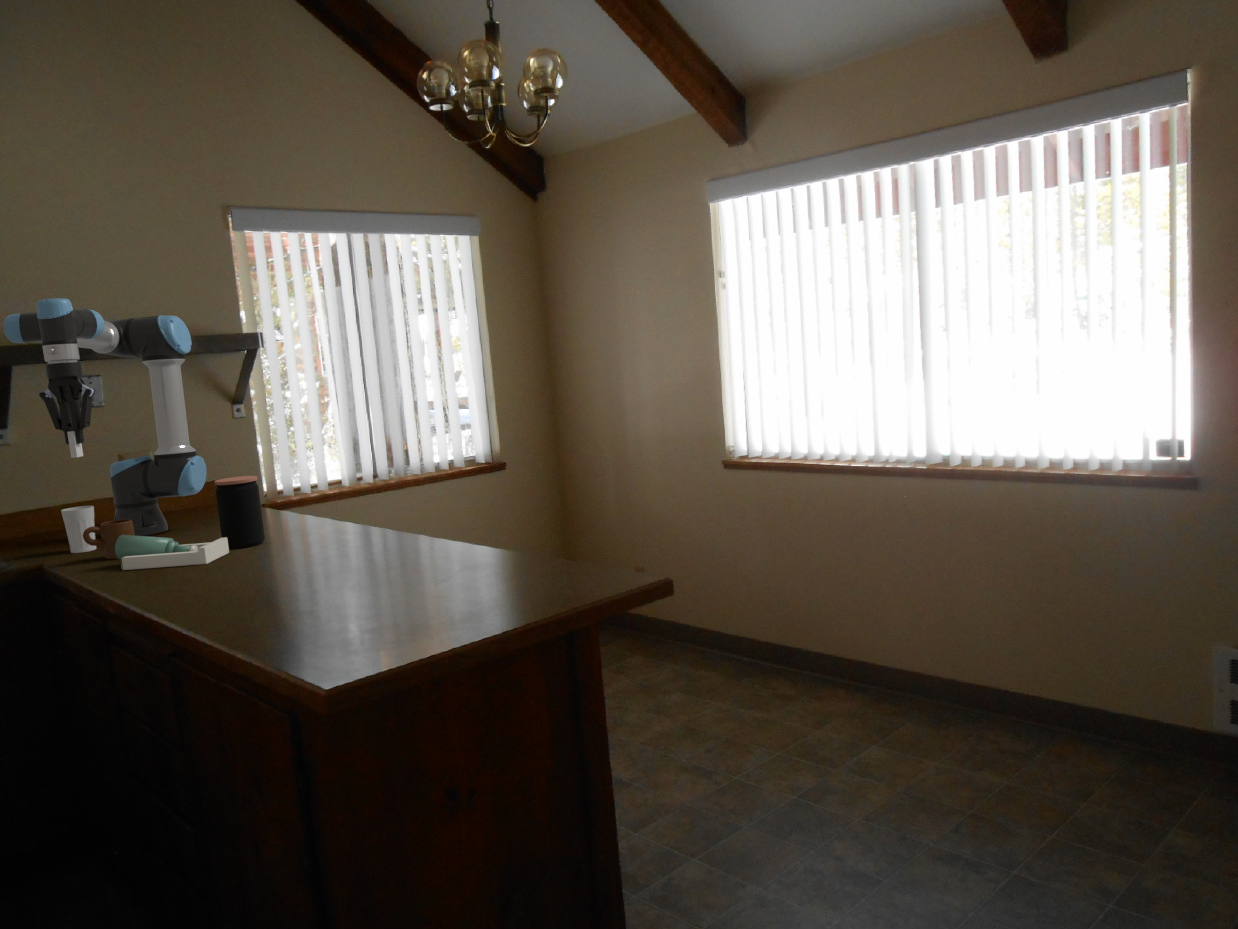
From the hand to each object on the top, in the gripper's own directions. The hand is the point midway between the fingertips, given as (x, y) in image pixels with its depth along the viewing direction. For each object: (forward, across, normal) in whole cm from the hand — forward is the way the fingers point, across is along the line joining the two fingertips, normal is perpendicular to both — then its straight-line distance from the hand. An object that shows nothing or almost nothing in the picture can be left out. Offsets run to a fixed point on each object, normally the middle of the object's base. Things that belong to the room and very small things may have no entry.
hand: (77, 456), depth 231 cm
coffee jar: (+28, +33, +13) cm, 45 cm away
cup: (+28, -17, +24) cm, 41 cm away
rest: (+28, +22, -3) cm, 36 cm away
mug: (+28, 0, +8) cm, 29 cm away
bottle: (+23, +9, -3) cm, 25 cm away
